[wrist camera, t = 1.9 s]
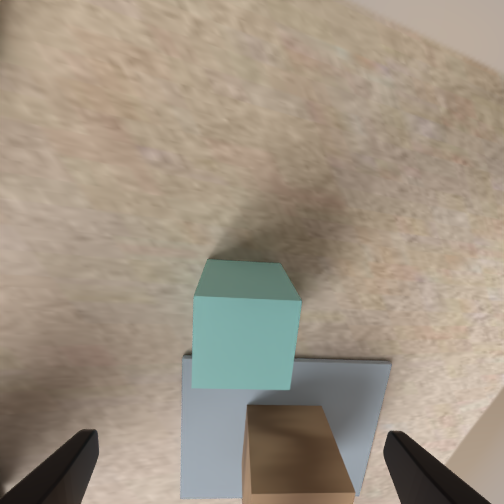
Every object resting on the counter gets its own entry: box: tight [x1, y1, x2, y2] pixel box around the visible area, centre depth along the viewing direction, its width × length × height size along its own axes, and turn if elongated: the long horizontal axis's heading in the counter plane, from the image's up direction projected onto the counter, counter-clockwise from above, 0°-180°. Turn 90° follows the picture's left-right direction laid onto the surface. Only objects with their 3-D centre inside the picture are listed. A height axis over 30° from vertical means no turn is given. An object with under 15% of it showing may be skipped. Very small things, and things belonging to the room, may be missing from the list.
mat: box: [180, 355, 392, 499], centre depth 21 cm, size 16×14×1 cm
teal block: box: [191, 259, 302, 390], centre depth 15 cm, size 5×5×6 cm
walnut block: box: [242, 405, 356, 504], centre depth 18 cm, size 6×6×6 cm
